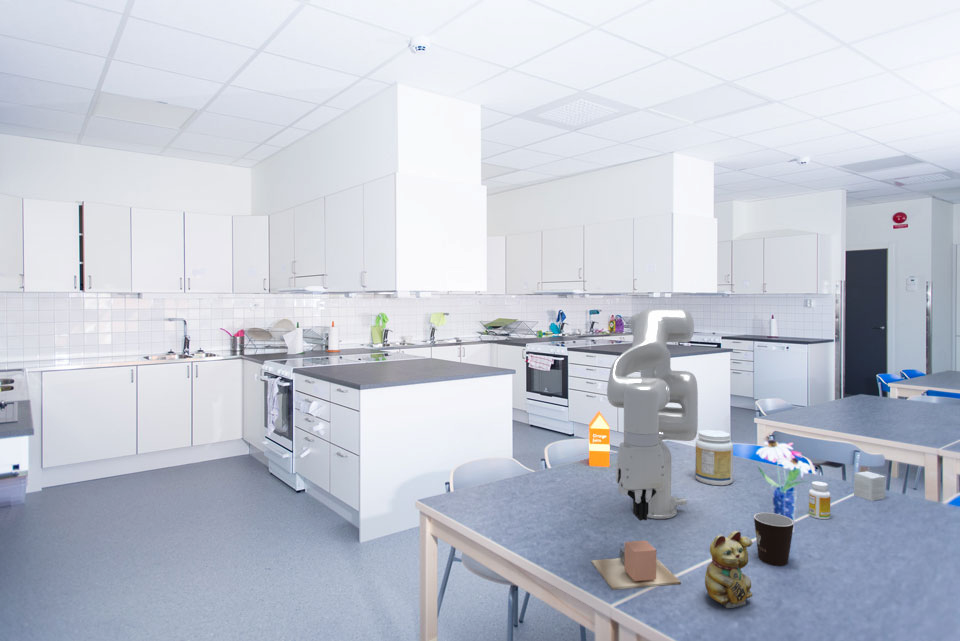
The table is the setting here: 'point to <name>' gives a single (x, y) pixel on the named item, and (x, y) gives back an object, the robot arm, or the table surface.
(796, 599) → the table surface
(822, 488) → the supplement bottle
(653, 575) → the salmon pink toy brick
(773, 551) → the coffee mug
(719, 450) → the supplement tub
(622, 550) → the silver gray cube
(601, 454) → the orange juice
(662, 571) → the board
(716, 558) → the decorative figurine
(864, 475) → the pale grey block
